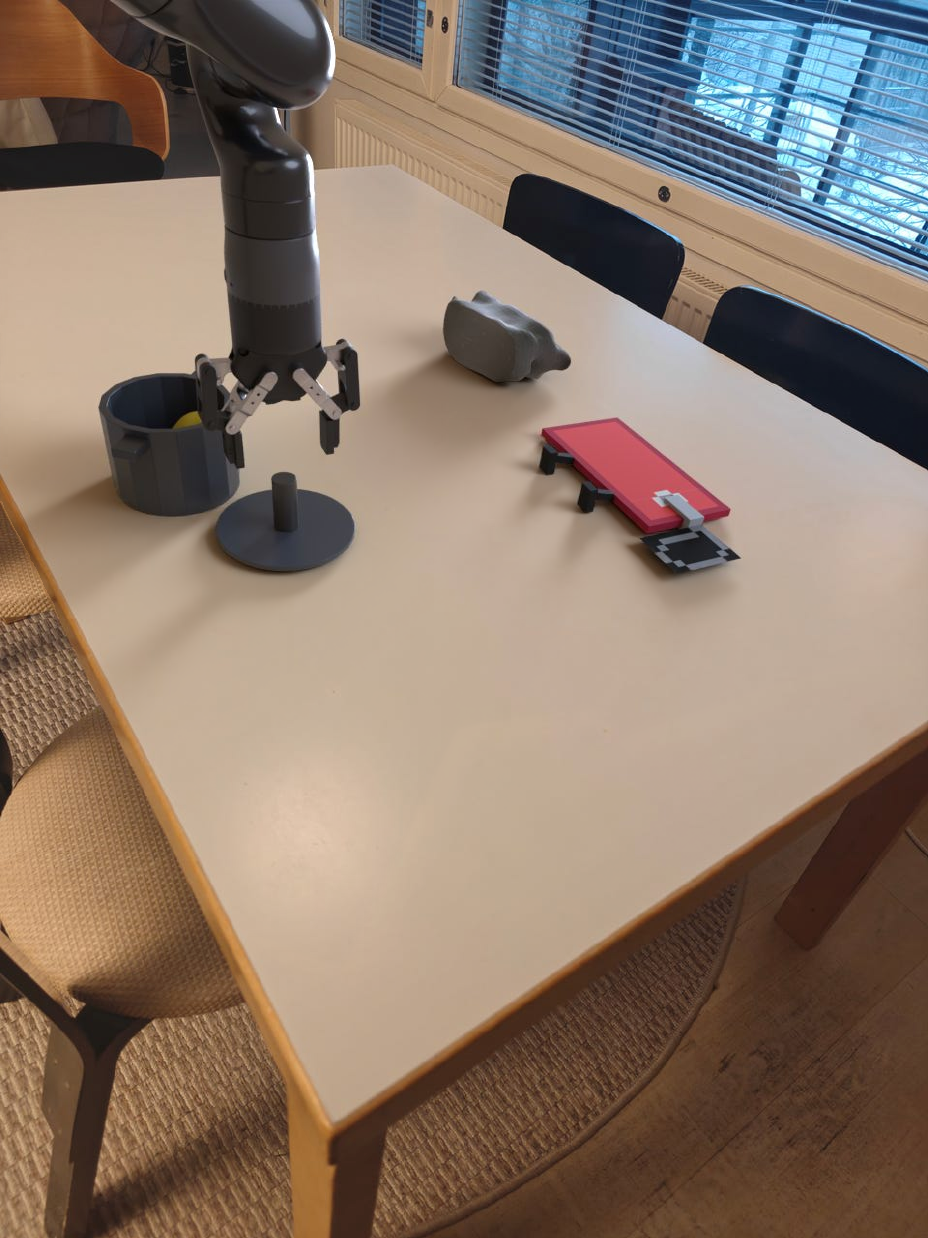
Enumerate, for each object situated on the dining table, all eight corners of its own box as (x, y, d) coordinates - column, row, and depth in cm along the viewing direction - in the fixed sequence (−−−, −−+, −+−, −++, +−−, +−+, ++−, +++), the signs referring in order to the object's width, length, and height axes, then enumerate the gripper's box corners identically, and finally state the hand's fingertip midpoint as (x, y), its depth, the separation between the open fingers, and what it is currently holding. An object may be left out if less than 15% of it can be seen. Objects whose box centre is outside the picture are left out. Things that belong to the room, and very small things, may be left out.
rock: (577, 380, 120) (587, 324, 114) (518, 399, 114) (526, 341, 108) (490, 333, 129) (495, 279, 124) (431, 348, 123) (435, 293, 118)
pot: (78, 516, 86) (57, 431, 79) (163, 432, 99) (151, 354, 93) (197, 541, 84) (185, 456, 78) (267, 453, 98) (262, 374, 92)
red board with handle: (659, 585, 85) (772, 557, 91) (666, 562, 83) (781, 535, 89) (514, 442, 105) (615, 427, 111) (517, 421, 103) (619, 407, 109)
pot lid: (193, 559, 82) (184, 501, 78) (249, 486, 92) (245, 432, 88) (329, 588, 81) (328, 530, 76) (371, 511, 91) (372, 456, 87)
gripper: (195, 309, 65) (217, 491, 76) (372, 293, 70) (369, 465, 81) (174, 273, 70) (197, 449, 80) (341, 261, 75) (342, 427, 86)
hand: (283, 457), depth 81 cm, fingers open, 8 cm apart
